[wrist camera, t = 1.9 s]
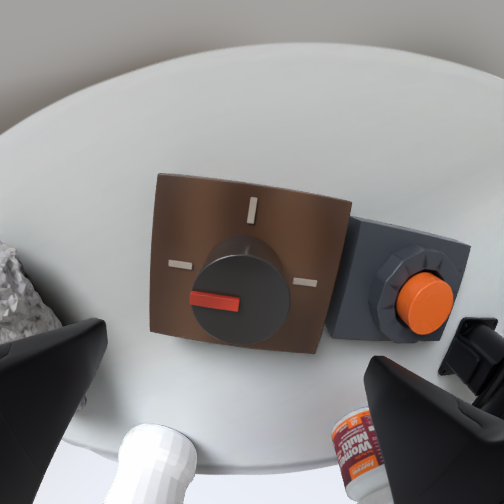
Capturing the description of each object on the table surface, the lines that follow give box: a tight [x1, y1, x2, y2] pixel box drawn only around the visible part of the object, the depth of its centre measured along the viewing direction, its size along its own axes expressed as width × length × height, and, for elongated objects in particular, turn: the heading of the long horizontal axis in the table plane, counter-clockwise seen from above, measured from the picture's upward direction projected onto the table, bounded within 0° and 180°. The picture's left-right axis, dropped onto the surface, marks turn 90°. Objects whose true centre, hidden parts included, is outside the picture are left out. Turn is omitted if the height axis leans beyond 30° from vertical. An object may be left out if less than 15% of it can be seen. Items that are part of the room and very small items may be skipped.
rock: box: [0, 241, 87, 411], centre depth 17 cm, size 18×15×10 cm
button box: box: [325, 216, 471, 343], centre depth 18 cm, size 10×8×4 cm
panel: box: [150, 173, 352, 354], centre depth 17 cm, size 11×10×3 cm
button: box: [397, 272, 453, 335], centre depth 15 cm, size 4×4×2 cm
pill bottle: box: [332, 407, 394, 504], centre depth 18 cm, size 6×6×11 cm
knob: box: [190, 236, 291, 345], centre depth 14 cm, size 4×4×4 cm
